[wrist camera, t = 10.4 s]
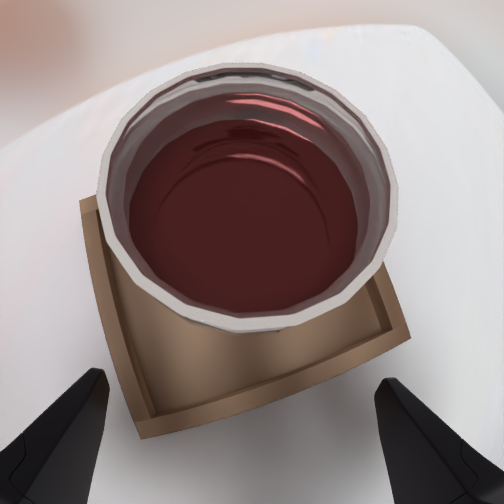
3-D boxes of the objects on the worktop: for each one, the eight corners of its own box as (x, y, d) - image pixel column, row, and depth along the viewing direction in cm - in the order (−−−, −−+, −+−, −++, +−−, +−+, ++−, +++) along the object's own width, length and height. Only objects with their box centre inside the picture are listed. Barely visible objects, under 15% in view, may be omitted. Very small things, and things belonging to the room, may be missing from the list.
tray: (149, 430, 16) (140, 439, 14) (90, 213, 19) (79, 200, 17) (394, 339, 18) (411, 338, 16) (315, 150, 22) (322, 134, 20)
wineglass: (229, 201, 19) (239, 33, 8) (317, 273, 18) (439, 170, 7) (150, 283, 17) (42, 183, 6) (241, 364, 17) (274, 410, 5)
